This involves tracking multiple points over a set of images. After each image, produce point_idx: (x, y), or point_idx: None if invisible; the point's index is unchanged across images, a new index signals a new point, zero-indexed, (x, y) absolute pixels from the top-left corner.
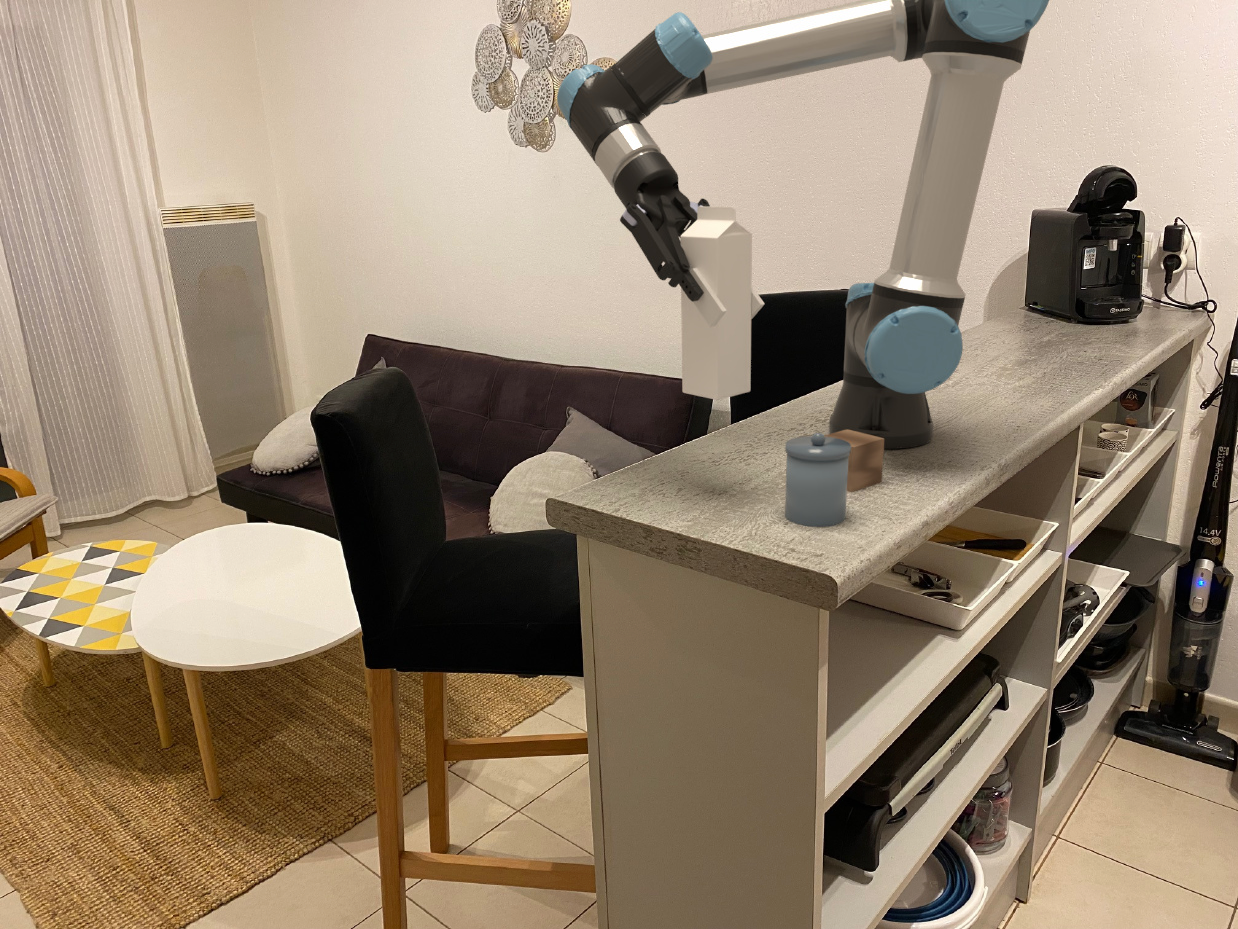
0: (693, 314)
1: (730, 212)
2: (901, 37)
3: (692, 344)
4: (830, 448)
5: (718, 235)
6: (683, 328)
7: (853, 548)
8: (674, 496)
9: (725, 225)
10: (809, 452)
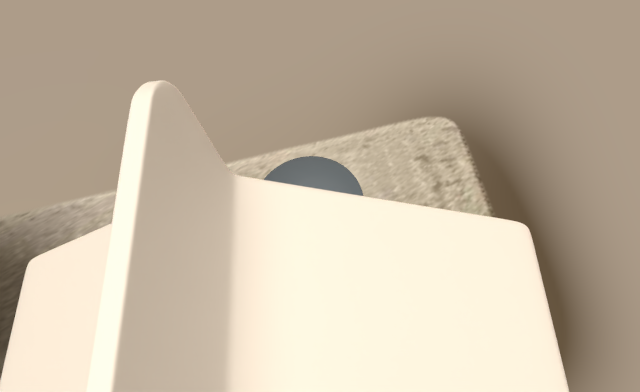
0: None
1: (189, 202)
2: None
3: None
4: (311, 178)
5: (503, 232)
6: None
7: (373, 148)
8: None
9: (341, 260)
10: (354, 184)
